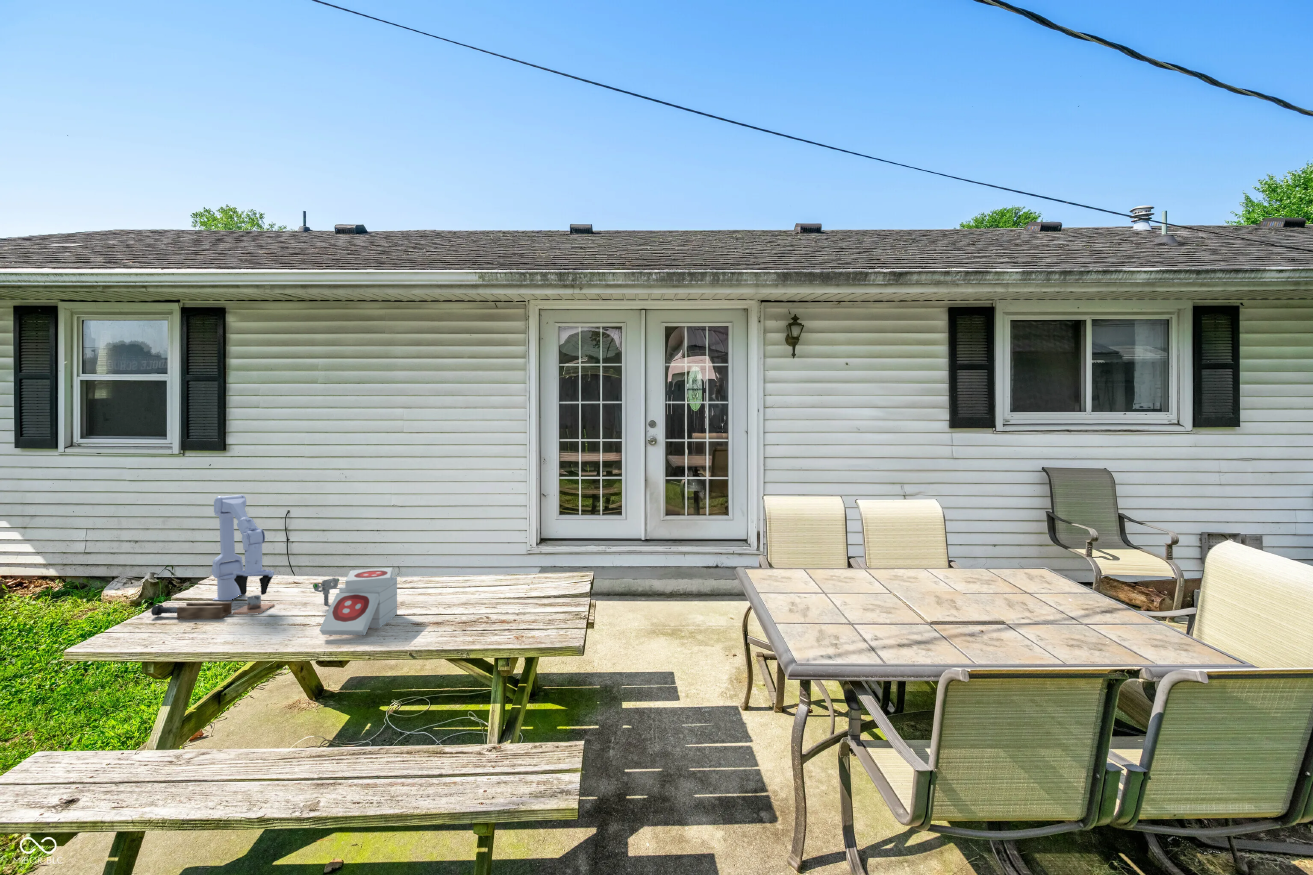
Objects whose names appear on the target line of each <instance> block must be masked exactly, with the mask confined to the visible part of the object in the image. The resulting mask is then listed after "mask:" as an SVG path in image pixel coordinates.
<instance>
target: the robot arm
mask: <svg viewBox="0 0 1313 875" xmlns="http://www.w3.org/2000/svg"><path fill="white" fill-rule="evenodd" d="M246 506H247V498H246V496H245V495H244V494H235V495H224V496H220V495H219V496H216V497H215V499H214V501H213V512H214V515H215V516H217V517H218V518H219V536H220V537H219V539H220V540H219V542H220V546H219V547H220V554H219V555H218V556H216V557H215V558H214V559H213V560H212V567H211V573H212V576H213V578H215V579H216V580H217V581H216V584H217V587H216V588H217V590H216V591H217V597H214V598H213V599H212V601H233V600H235V599H234V598H236V597H238V595H242V596H243V595H244V596H245V595H246V594H247V587H248V586H247V584H248V579H249V577H259V578H258V579H259V583H260V595H261V596H263V595H266V594H267V591H268V588H269V585H270V583H271V582H272V579H273V578H274V576H275V570H266V569H263V544H265V542H266V541H265V540H266V535H265V532H264V529H263V528H259V527H258V525H257V524H256V523H255V521H254V519H253V518H251V517H249V515H248V513H247V511H246ZM234 518H235V519H236V521H237V523H236V526H237V528H238V530H239V533H240V534H241V541H242V548H243V550H244V562H243V558H242V556H241V555H239V554H237V553H236V551H235V550H236V549H235V546H236V545H235V525H234V524H235V523H234V522H235V521H234ZM238 598H239V597H238ZM232 599H233V600H232ZM236 599H237V598H236Z"/></svg>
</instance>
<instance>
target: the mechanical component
mask: <svg viewBox="0 0 1313 875" xmlns="http://www.w3.org/2000/svg"><path fill="white" fill-rule="evenodd" d="M339 582H340V579H339V578H338V577H337V578H336V577H331V578H327V579H323V580H322V581H321V582H320V584H319V583H318V582H316V583H313V584H312V587H313V590H314V592H318V593H322V595H323V605H325V606H328V605H329V604H330V603H329V594H330V593H331V592H330V590H334V589H337V588H338V586H339Z"/></svg>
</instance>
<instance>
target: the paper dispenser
mask: <svg viewBox="0 0 1313 875" xmlns="http://www.w3.org/2000/svg"><path fill="white" fill-rule="evenodd" d="M344 581H345V582H344V583H345V584H344V585H342V586H340V587H339V589H338V592H336V594H335V596H334V599H333V600H332V603H331V605H330V606H329V608H328V611H327V613H326V614H325V617H324V619H323V621H322V623H321V626H320V627H319V630H318V631H319V632H320V633H321V635H323V636H326V635H327V636H328V635H329V636H335V635H336V636H366V634H367V631H368V629H380V628H382V625H383V626H384V625H386V624H387V623H388V622H389V621H391V620H392V619H393V618H394V617H395V615H396V614H397V615H398V576H393V567H384V568H383V567H382V568H368V569H367V568H366V569H356V570H355V569H354V570H350V571H349V573H348V575H347V577H346V579H345V580H344ZM397 615H396V616H397ZM386 622H387V623H386Z"/></svg>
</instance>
